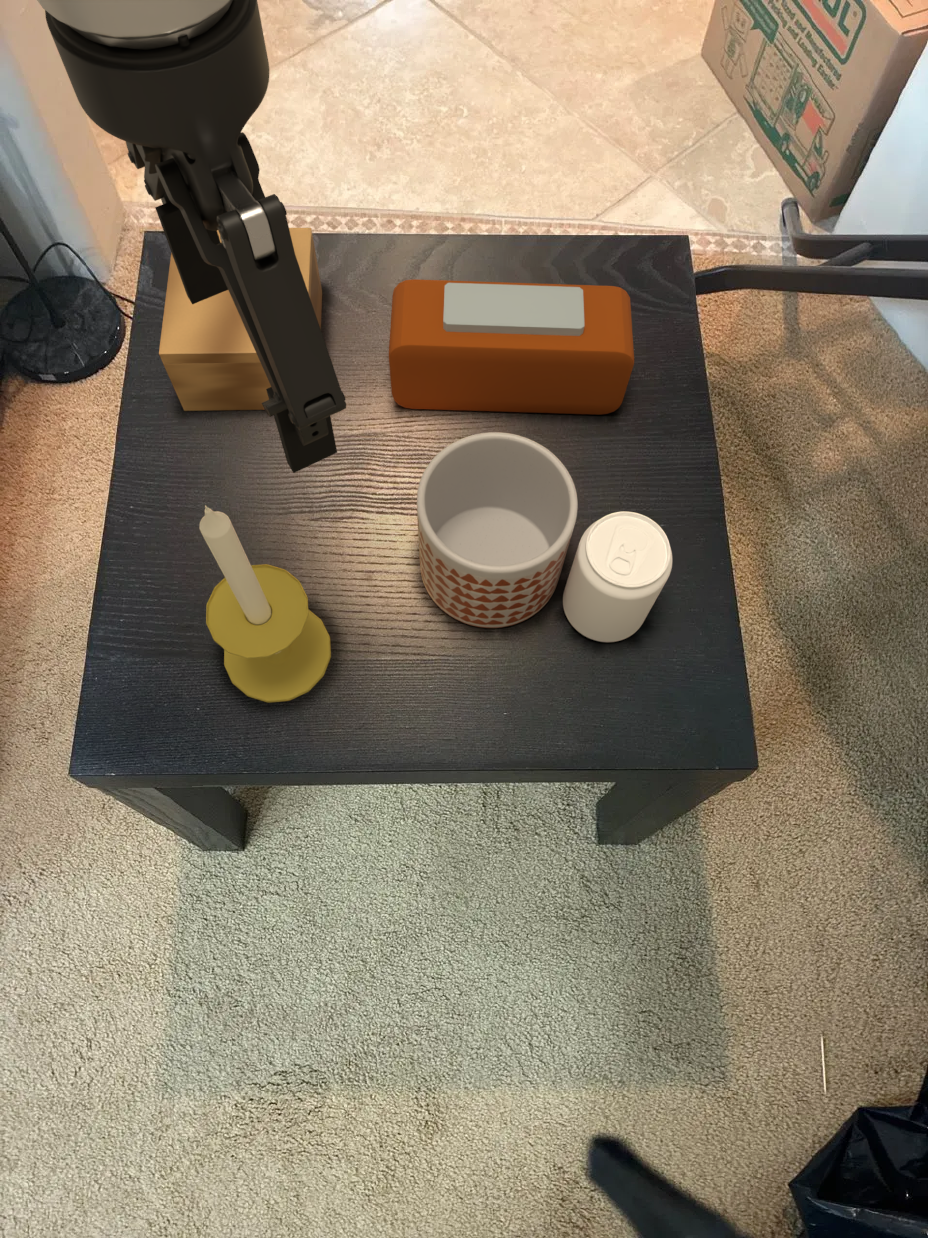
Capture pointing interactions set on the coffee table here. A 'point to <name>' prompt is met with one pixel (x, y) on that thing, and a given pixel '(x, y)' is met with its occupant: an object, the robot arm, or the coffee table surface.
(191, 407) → the lidded tan carton
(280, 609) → the candle
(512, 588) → the planter
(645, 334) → the coffee table surface
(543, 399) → the alarm clock
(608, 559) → the beverage can
